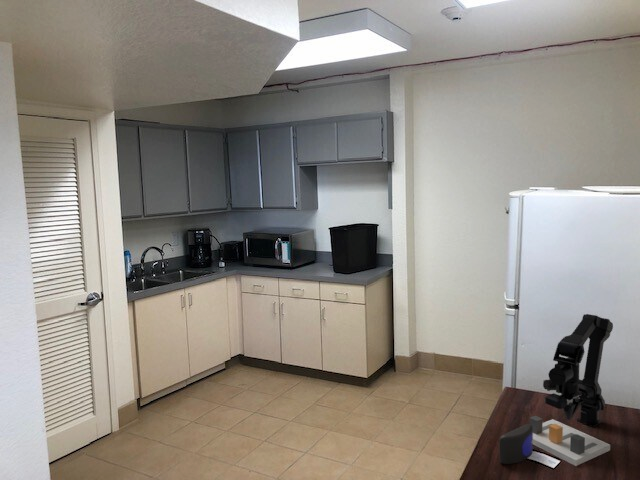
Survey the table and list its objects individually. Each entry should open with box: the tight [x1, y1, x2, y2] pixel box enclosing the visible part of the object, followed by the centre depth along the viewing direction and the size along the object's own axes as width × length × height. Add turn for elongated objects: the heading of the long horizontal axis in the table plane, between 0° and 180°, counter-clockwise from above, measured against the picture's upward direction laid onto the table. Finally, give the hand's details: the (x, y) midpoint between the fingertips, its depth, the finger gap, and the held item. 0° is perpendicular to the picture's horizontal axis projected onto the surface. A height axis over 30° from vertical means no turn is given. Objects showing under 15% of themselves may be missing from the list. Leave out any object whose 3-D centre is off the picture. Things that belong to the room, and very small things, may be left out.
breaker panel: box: [529, 415, 611, 467], centre depth 179 cm, size 18×22×7 cm
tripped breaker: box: [549, 424, 563, 444], centre depth 177 cm, size 3×3×5 cm
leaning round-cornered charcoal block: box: [498, 423, 534, 465], centre depth 171 cm, size 16×5×9 cm, turn 124°
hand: (569, 419), depth 182 cm, fingers closed
